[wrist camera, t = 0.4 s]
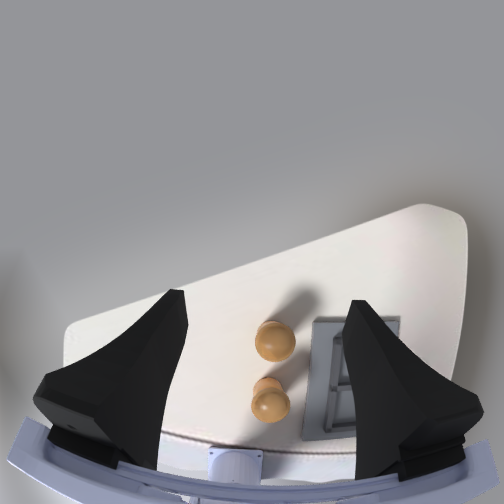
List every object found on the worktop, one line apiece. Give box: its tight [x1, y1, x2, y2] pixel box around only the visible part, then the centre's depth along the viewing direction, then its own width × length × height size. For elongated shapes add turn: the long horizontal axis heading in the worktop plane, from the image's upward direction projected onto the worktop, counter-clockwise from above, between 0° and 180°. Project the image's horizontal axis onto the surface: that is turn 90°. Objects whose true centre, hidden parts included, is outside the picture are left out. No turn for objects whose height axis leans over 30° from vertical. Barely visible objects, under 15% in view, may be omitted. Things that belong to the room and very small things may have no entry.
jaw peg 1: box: [255, 321, 296, 362], centre depth 34 cm, size 5×5×6 cm
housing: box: [302, 321, 399, 441], centre depth 35 cm, size 18×13×2 cm
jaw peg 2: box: [251, 378, 290, 423], centre depth 33 cm, size 5×5×6 cm
